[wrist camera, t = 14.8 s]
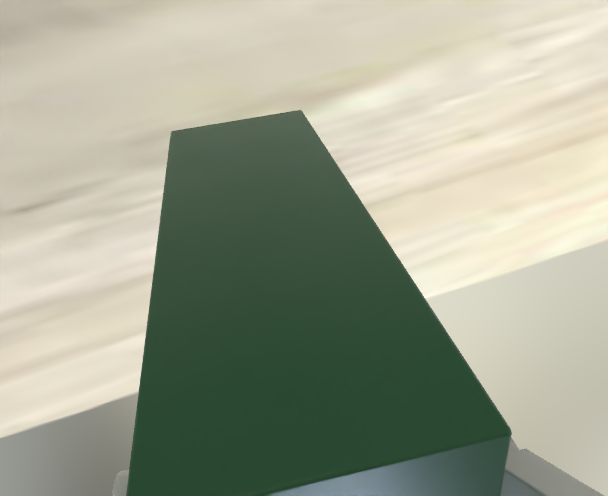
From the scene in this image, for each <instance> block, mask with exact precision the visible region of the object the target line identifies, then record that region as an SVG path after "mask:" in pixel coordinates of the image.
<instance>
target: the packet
mask: <svg viewBox="0 0 608 496" xmlns="http://www.w3.org/2000/svg"><path fill="white" fill-rule="evenodd" d="M511 434H512V433H511V429H510V428H509V426H508V425H507V423H506V422H505V420H504V418H503V417H502V415H501V414H500V412H499V411H498V410H497V408H496V406H495V405H494V403H493V402H492V400H491V399H490V397H489V396H488V394H487V393H486V391H485V389H484V388H483V387H482V385H481V383H480V382H479V380H478V379H477V378H476V376H475V374H474V373H473V371H472V370H471V368H470V367H469V365H468V364H467V362H466V361H465V359H464V357H463V356H462V354H461V353H460V351H459V350H458V348H457V347H456V345H455V344H454V342H453V341H452V339H451V338H450V336H449V335H448V333H447V332H446V330H445V328H444V327H443V325H442V324H441V323H440V321H439V319H438V318H437V316H436V315H435V313H434V312H433V310H432V309H431V307H430V306H429V304H428V303H427V301H426V300H425V298H424V296H423V295H422V293H421V292H420V290H419V289H418V287H417V286H416V284H415V283H414V281H413V280H412V278H411V277H410V275H409V274H408V272H407V271H406V269H405V268H404V266H403V264H402V263H401V261H400V260H399V258H398V257H397V255H396V254H395V252H394V251H393V249H392V248H391V246H390V245H389V243H388V242H387V240H386V239H385V237H384V236H383V234H382V232H381V231H380V229H379V228H378V226H377V225H376V223H375V222H374V220H373V219H372V217H371V216H370V214H369V213H368V211H367V210H366V208H365V207H364V205H363V204H362V202H361V200H360V199H359V197H358V196H357V194H356V193H355V191H354V190H353V188H352V187H351V185H350V184H349V182H348V181H347V179H346V178H345V176H344V175H343V173H342V172H341V170H340V168H339V167H338V165H337V164H336V162H335V161H334V159H333V158H332V156H331V155H330V153H329V152H328V150H327V149H326V147H325V146H324V144H323V143H322V141H321V140H320V138H319V136H318V135H317V133H316V132H315V130H314V129H313V127H312V126H311V124H310V123H309V121H308V120H307V118H306V117H305V115H304V114H303V112H302V111H301V110H298V111H292V112H286V113H280V114H274V115H268V116H262V117H256V118H249V119H243V120H237V121H231V122H225V123H219V124H213V125H207V126H201V127H195V128H189V129H183V130H177V131H172V132H171V137H170V145H169V153H168V161H167V169H166V177H165V185H164V193H163V201H162V209H161V217H160V225H159V234H158V242H157V250H156V258H155V266H154V274H153V282H152V290H151V298H150V306H149V314H148V322H147V330H146V338H145V346H144V355H143V363H142V371H141V379H140V387H139V395H138V403H137V411H136V419H135V428H134V435H133V444H132V451H131V460H130V467H129V476H128V484H127V492H126V496H500V494H501V489H502V483H503V478H504V472H505V467H506V461H507V456H508V451H509V445H510V440H511Z"/></svg>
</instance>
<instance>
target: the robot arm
mask: <svg viewBox="0 0 608 496" xmlns="http://www.w3.org/2000/svg"><path fill="white" fill-rule="evenodd" d="M128 476H129V470H126V471H122V472H118V474H117V476H116V479H115V481H114V487H113V494H112V496H126V492H127V484H128ZM500 496H603V495H602V494H600V493H599V492H597V491H595V490H594V489H592V488H590V487H589V486H587V485H585V484H584V483H582V482H580V481H579V480H577V479H575V478H574V477H572V476H570V475H569V474H567V473H565V472H564V471H562V470H561V469H559V468H557V467H555V466H554V465H552V464H551V463H549V462H547V461H545V460H544V459H542V458H540V457H539V456H537V455H535V454H534V453H532V452H531V451H529V450H527V449H522V450H519V448H518V447H517V445H516V444H515V442H514V441H513V439H512V438H511V440H510V445H509V451H508V456H507V461H506V467H505V472H504V478H503V483H502V489H501V494H500Z"/></svg>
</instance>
